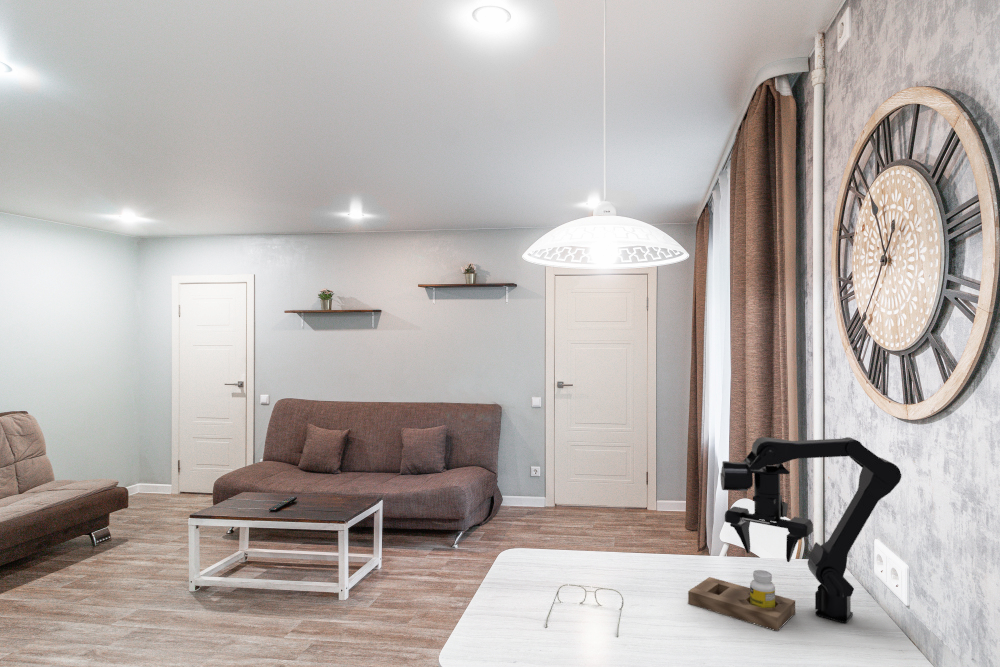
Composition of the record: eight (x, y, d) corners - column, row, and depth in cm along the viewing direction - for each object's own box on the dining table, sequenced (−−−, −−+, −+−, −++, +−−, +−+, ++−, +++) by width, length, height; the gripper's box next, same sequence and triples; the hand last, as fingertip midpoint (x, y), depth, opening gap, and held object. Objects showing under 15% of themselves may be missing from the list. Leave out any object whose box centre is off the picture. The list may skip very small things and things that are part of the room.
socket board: (795, 613, 146) (795, 600, 146) (777, 631, 137) (777, 617, 137) (709, 588, 160) (709, 576, 160) (688, 603, 152) (688, 591, 152)
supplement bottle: (745, 611, 147) (745, 570, 147) (763, 608, 149) (763, 567, 149) (761, 621, 142) (761, 578, 142) (780, 618, 144) (780, 575, 144)
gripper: (819, 491, 148) (820, 556, 148) (740, 479, 160) (741, 540, 160) (805, 500, 139) (806, 570, 139) (723, 488, 152) (724, 552, 152)
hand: (768, 557), depth 148 cm, fingers open, 9 cm apart
